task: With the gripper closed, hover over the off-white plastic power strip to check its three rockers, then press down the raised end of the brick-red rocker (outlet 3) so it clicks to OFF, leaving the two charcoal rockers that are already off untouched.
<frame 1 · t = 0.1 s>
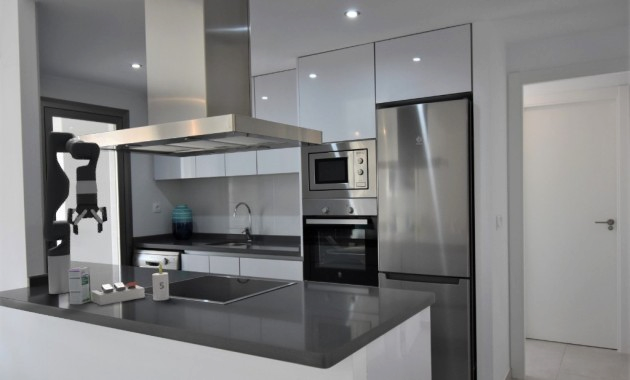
hand: (88, 233, 187), 29 cm above the counter, fingers open, 8 cm apart
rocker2: (119, 286, 200), point 6 cm above the counter, hinge at 15.0°
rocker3: (131, 284, 203), point 6 cm above the counter, hinge at -15.0°
candle: (161, 299, 198), on the counter
syrup box: (80, 303, 197), on the counter
power strip: (118, 298, 201), on the counter
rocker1: (107, 288, 196), point 6 cm above the counter, hinge at 15.0°
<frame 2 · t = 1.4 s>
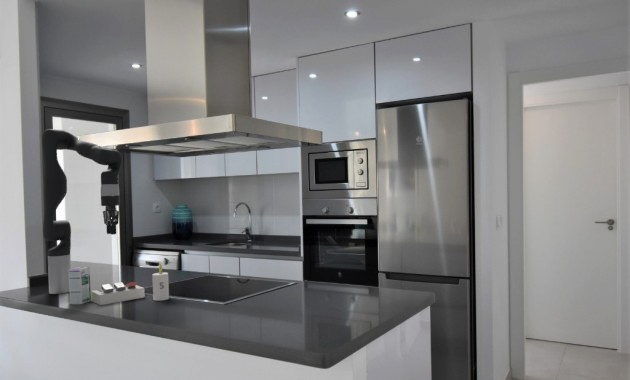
hand: (111, 233, 207), 27 cm above the counter, fingers open, 4 cm apart
nothing on the counter moved.
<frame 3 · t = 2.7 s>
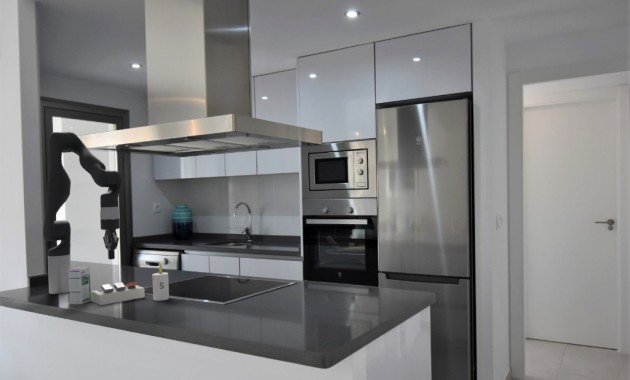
hand: (111, 259, 199), 17 cm above the counter, fingers closed
nothing on the counter moved.
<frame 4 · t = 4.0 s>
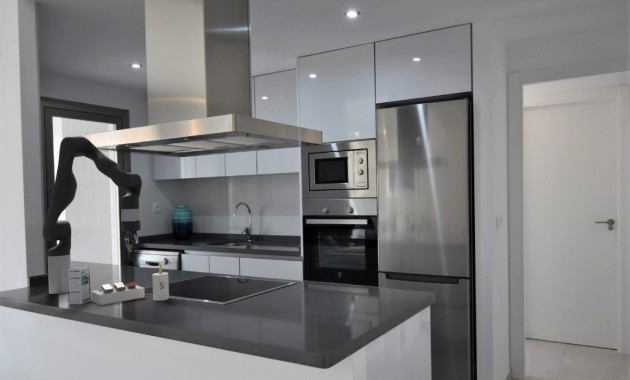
hand: (132, 260, 201), 16 cm above the counter, fingers closed
nothing on the counter moved.
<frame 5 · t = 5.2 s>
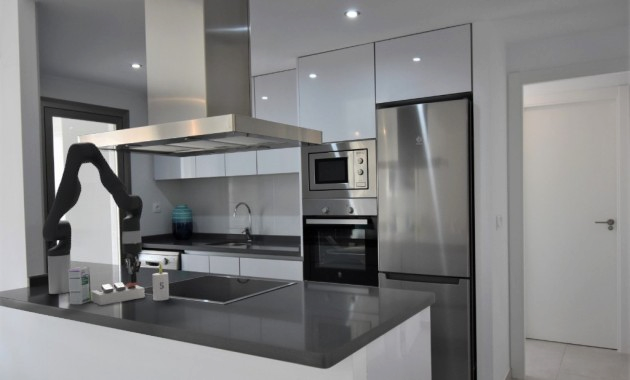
hand: (133, 282, 201), 7 cm above the counter, fingers closed
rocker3: (131, 284, 203), point 6 cm above the counter, hinge at -14.9°, touching gripper
everything else where it was.
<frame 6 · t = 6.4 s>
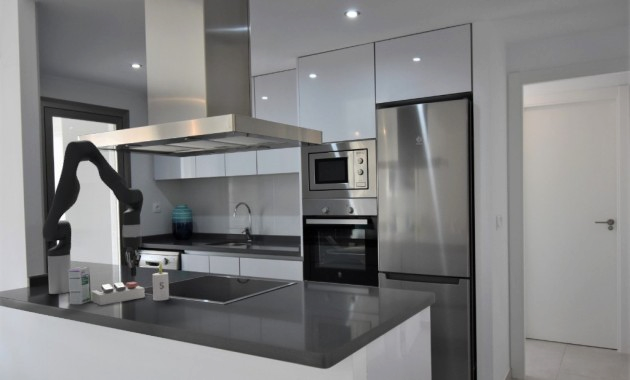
hand: (133, 276, 202), 9 cm above the counter, fingers closed
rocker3: (131, 284, 203), point 6 cm above the counter, hinge at 0.1°
everything else where it was.
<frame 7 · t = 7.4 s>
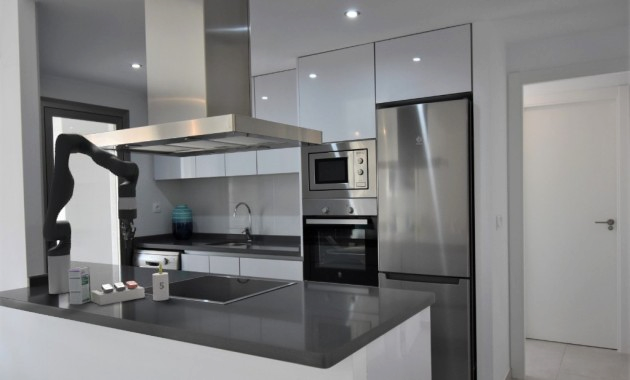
hand: (128, 248, 203), 21 cm above the counter, fingers closed
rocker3: (131, 284, 203), point 6 cm above the counter, hinge at 10.1°
everything else where it was.
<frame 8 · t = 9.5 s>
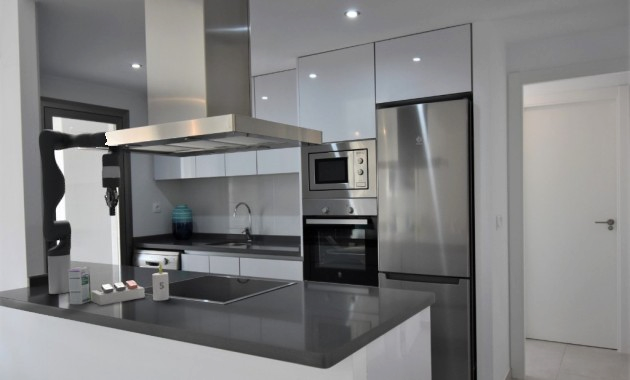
hand: (112, 215, 211), 35 cm above the counter, fingers closed
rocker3: (131, 284, 203), point 6 cm above the counter, hinge at 17.0°
everything else where it was.
at the end: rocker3 at +17° (first picture: -15°); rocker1 at +15° (first picture: +15°); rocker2 at +15° (first picture: +15°) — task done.
